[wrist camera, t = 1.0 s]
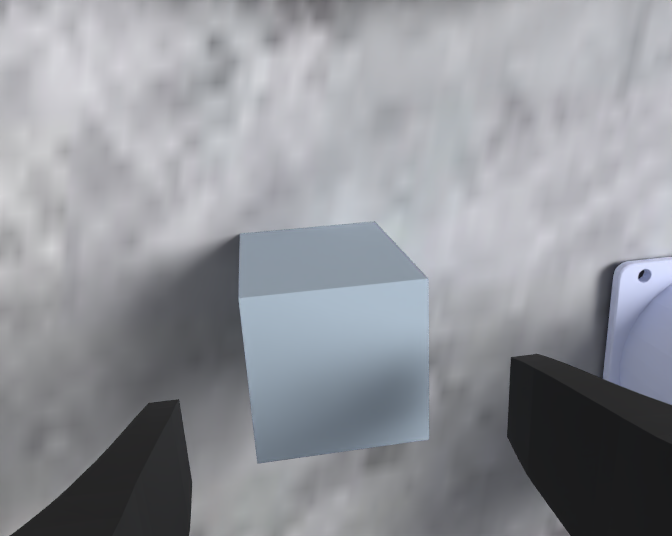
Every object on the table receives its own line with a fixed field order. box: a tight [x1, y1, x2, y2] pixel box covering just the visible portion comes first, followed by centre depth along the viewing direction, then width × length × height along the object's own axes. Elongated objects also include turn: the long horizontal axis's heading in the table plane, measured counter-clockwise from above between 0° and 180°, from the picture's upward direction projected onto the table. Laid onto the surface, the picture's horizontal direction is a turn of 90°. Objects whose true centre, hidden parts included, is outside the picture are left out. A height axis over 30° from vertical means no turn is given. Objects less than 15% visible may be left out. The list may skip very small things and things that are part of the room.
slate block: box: [238, 222, 429, 464], centre depth 17 cm, size 4×4×6 cm
